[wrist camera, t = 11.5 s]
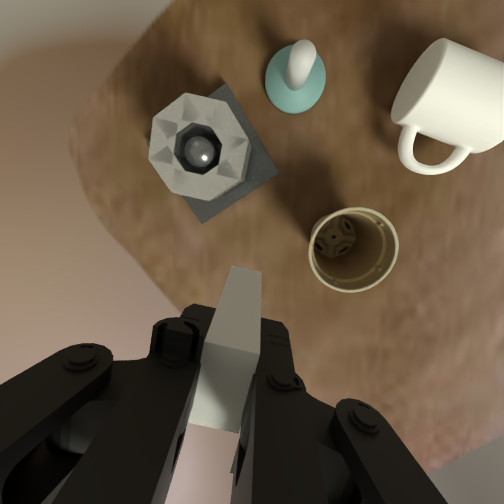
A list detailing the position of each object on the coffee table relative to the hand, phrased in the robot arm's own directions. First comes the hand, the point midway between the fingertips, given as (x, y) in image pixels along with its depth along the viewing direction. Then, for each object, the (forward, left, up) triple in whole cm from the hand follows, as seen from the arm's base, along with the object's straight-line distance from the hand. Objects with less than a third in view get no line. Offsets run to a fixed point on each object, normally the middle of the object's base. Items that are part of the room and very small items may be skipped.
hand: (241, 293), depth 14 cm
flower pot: (-8, +7, -25) cm, 27 cm away
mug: (-24, +1, -25) cm, 34 cm away
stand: (-13, -12, -24) cm, 30 cm away
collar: (0, -10, -20) cm, 22 cm away
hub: (0, -10, -24) cm, 26 cm away
